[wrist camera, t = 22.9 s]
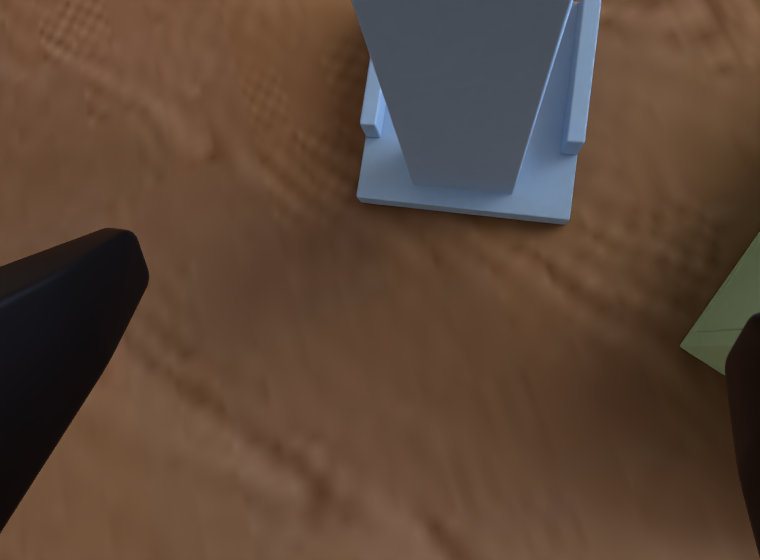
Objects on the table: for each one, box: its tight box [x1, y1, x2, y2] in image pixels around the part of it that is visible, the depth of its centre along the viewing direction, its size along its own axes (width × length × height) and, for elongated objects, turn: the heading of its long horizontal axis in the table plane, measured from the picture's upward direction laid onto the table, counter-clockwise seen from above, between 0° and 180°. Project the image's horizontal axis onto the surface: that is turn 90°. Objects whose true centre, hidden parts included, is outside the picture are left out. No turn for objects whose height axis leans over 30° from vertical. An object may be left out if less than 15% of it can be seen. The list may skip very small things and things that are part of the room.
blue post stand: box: [351, 0, 602, 225], centre depth 14 cm, size 8×8×12 cm
